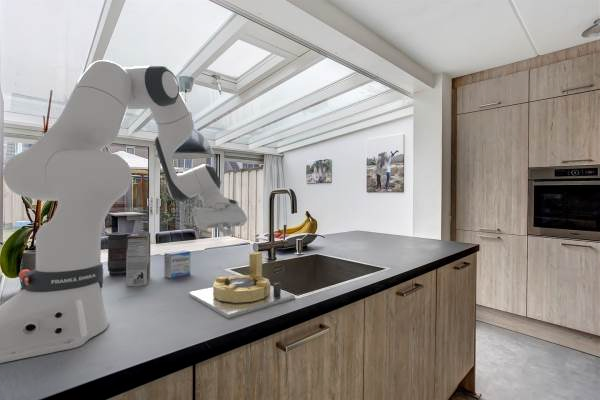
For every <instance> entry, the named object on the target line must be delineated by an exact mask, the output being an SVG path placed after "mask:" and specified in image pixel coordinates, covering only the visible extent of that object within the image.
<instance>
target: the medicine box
mask: <svg viewBox="0 0 600 400" xmlns="http://www.w3.org/2000/svg"><path fill="white" fill-rule="evenodd" d="M163 255H164V258H163V259H164V262H163V263H164V264H163V265H164V273H163V274H164V275H163V276H164V277H165V278H168V279H171V280H172V279H176V278H181V277H185V276H188V275H191V251H189V250H179V251H171V252H165V253H164V254H163Z"/></svg>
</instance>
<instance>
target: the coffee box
mask: <svg viewBox="0 0 600 400" xmlns="http://www.w3.org/2000/svg"><path fill="white" fill-rule="evenodd" d="M130 233H131V234H129V235H128V236H127V260H126V275H125V277H126V278H125V281H126V283H125V284H126V285H125V286H126V288H128V287H138V286H139V287H141V286H148V284H149V282H150V279H151V232H130Z"/></svg>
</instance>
